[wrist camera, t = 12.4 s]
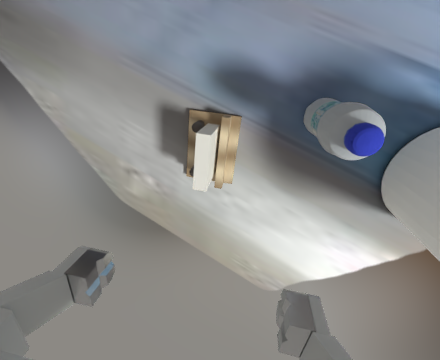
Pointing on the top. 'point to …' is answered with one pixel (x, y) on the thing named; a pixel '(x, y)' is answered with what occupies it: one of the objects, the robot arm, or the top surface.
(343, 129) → the bottle
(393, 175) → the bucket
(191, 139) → the tan pegged board
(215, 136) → the white rectangular block
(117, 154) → the top surface
